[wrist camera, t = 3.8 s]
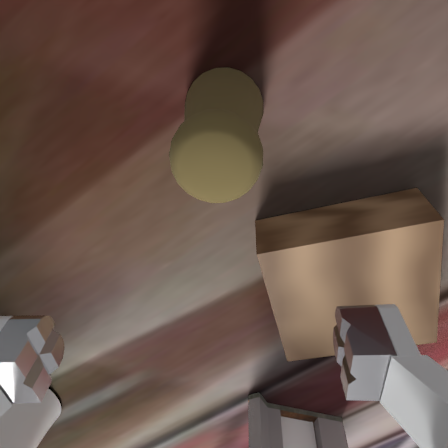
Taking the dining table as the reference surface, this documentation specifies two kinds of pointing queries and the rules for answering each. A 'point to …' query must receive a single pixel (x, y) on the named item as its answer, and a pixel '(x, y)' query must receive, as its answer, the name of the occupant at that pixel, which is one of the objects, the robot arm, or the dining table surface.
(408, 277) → the wooden block
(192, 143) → the cork
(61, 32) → the dining table surface
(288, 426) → the cabinet
